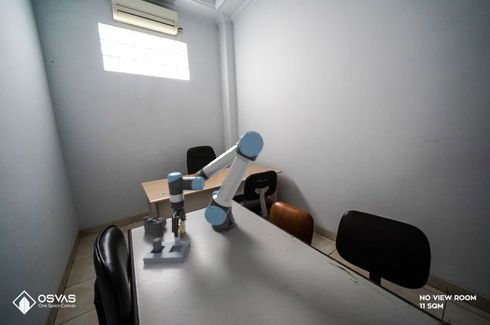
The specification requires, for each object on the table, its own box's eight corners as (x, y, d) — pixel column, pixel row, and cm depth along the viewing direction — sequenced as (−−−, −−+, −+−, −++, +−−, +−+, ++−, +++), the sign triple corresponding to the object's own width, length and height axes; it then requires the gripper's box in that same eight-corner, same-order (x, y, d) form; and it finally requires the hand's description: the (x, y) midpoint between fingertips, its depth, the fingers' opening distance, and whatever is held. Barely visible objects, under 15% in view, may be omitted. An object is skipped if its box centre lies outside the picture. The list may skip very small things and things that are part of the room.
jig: (190, 245, 93) (188, 232, 91) (182, 262, 81) (181, 247, 80) (156, 247, 93) (154, 233, 91) (143, 264, 81) (141, 248, 79)
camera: (173, 229, 110) (171, 214, 108) (158, 238, 100) (156, 223, 98) (158, 224, 116) (156, 210, 114) (142, 233, 106) (140, 218, 104)
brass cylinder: (185, 234, 104) (184, 221, 102) (183, 238, 100) (181, 225, 98) (178, 234, 104) (177, 222, 102) (176, 238, 100) (174, 225, 98)
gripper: (177, 193, 108) (180, 225, 112) (161, 208, 87) (166, 248, 91) (189, 192, 108) (192, 225, 112) (176, 208, 87) (180, 248, 91)
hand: (180, 235), depth 102 cm, fingers open, 9 cm apart
